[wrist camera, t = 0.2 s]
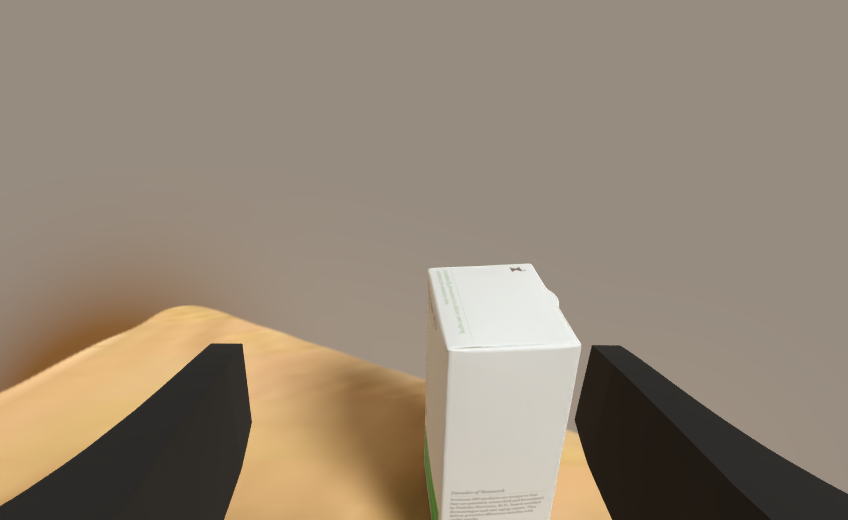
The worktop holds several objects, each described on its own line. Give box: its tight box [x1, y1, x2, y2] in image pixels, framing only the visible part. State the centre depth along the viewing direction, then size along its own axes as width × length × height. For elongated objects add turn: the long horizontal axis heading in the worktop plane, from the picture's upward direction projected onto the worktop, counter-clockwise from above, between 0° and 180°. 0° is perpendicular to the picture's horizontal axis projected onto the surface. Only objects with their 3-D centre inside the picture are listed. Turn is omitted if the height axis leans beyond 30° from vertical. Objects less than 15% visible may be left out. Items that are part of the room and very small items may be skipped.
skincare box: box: [424, 264, 581, 520], centre depth 30 cm, size 8×7×16 cm
